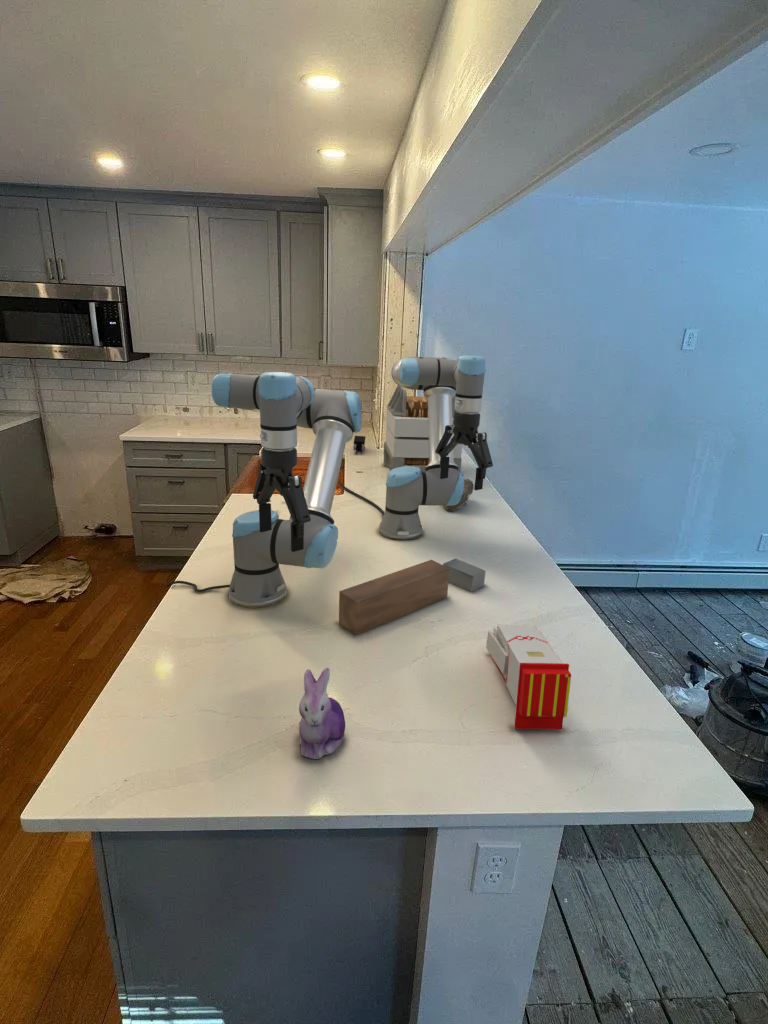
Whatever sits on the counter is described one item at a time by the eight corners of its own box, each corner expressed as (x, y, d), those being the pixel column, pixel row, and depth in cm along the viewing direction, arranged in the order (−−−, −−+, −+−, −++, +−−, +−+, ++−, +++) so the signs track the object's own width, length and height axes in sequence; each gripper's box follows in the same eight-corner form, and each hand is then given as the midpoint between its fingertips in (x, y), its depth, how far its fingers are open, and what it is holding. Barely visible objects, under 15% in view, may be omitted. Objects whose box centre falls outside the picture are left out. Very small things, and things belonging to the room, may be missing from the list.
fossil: (437, 485, 243) (466, 466, 238) (450, 501, 245) (479, 483, 240) (436, 507, 223) (469, 487, 218) (450, 525, 226) (482, 505, 221)
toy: (533, 609, 133) (580, 670, 104) (528, 661, 136) (573, 736, 107) (482, 608, 133) (514, 669, 103) (478, 661, 135) (509, 735, 106)
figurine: (306, 770, 97) (306, 697, 91) (287, 731, 105) (286, 662, 100) (357, 752, 101) (359, 682, 96) (334, 717, 109) (335, 650, 104)
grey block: (441, 578, 168) (442, 563, 166) (454, 573, 172) (455, 558, 170) (471, 592, 161) (473, 576, 159) (483, 585, 165) (485, 570, 163)
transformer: (382, 463, 289) (386, 382, 275) (445, 464, 293) (451, 384, 279) (390, 482, 257) (394, 392, 243) (460, 483, 261) (468, 394, 247)
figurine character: (365, 457, 304) (365, 447, 318) (365, 443, 301) (365, 434, 315) (352, 456, 304) (353, 447, 318) (352, 443, 301) (353, 434, 314)
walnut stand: (338, 623, 142) (339, 591, 139) (429, 588, 162) (431, 559, 159) (355, 635, 137) (356, 602, 134) (447, 597, 157) (449, 568, 154)
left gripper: (235, 438, 127) (239, 526, 134) (295, 463, 109) (296, 563, 116) (265, 434, 131) (267, 520, 138) (327, 458, 114) (326, 554, 121)
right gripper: (426, 406, 167) (422, 475, 174) (493, 420, 150) (485, 496, 157) (444, 404, 172) (439, 471, 179) (510, 418, 154) (502, 492, 162)
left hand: (280, 540), depth 127 cm, fingers open, 13 cm apart
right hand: (460, 483), depth 168 cm, fingers open, 13 cm apart
